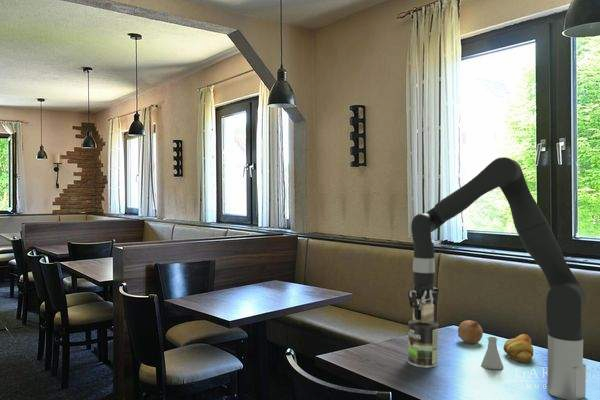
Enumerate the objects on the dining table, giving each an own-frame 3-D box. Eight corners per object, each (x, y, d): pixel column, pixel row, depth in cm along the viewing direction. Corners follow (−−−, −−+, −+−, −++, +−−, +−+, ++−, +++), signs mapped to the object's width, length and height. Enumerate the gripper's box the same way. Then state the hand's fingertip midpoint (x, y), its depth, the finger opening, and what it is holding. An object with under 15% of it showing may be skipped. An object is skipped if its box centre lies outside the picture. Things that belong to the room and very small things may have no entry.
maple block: (433, 321, 171) (433, 303, 171) (423, 323, 168) (424, 305, 168) (422, 318, 175) (422, 301, 175) (412, 320, 172) (413, 303, 172)
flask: (505, 371, 164) (505, 341, 164) (482, 369, 166) (483, 340, 166) (501, 363, 171) (501, 335, 171) (479, 362, 173) (479, 334, 173)
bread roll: (537, 365, 170) (537, 342, 170) (507, 363, 172) (507, 340, 172) (529, 354, 182) (529, 332, 182) (501, 351, 185) (501, 330, 185)
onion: (478, 352, 192) (486, 333, 188) (454, 344, 195) (462, 324, 190) (478, 337, 201) (486, 318, 196) (455, 330, 203) (462, 311, 198)
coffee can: (420, 369, 165) (420, 328, 165) (401, 360, 174) (402, 320, 174) (444, 365, 169) (444, 324, 169) (424, 356, 179) (425, 317, 179)
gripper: (418, 273, 164) (417, 324, 164) (445, 270, 172) (445, 318, 173) (401, 270, 170) (401, 319, 171) (428, 267, 179) (428, 313, 179)
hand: (423, 318), depth 172 cm, fingers closed on maple block, 5 cm apart
